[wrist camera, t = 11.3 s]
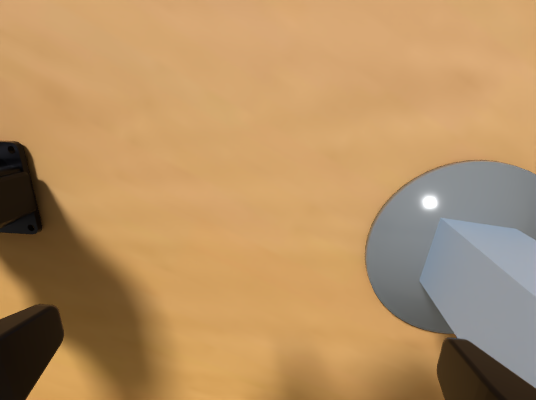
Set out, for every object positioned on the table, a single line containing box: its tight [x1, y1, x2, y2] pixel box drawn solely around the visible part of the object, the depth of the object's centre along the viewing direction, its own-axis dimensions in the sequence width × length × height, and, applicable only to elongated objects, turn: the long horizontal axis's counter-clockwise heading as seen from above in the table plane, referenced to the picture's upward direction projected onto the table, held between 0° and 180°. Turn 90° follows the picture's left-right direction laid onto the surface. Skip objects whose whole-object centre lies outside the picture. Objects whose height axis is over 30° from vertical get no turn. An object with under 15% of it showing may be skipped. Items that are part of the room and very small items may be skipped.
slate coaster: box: [365, 160, 536, 334], centre depth 19 cm, size 12×12×1 cm
